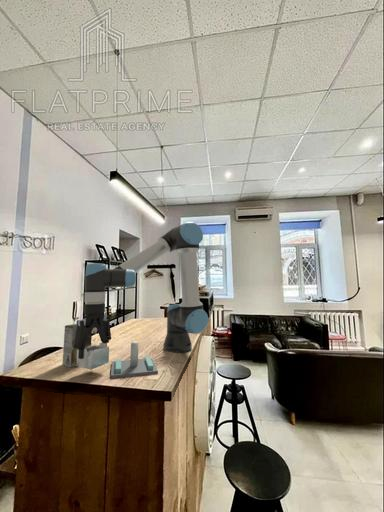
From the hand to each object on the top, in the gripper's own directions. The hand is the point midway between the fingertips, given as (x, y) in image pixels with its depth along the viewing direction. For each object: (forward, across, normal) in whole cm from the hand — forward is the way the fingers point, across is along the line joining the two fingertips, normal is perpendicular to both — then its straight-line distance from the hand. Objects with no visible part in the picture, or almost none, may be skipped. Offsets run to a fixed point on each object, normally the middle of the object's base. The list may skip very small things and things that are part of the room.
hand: (92, 363), depth 88 cm
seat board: (+4, -11, +10) cm, 16 cm away
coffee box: (+4, -4, -15) cm, 16 cm away
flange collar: (0, 0, 0) cm, 0 cm away
